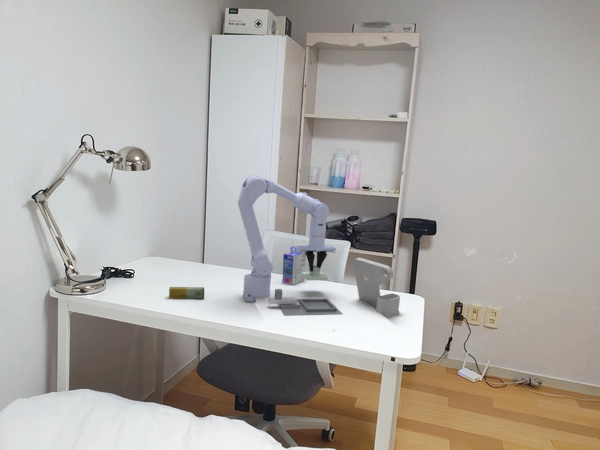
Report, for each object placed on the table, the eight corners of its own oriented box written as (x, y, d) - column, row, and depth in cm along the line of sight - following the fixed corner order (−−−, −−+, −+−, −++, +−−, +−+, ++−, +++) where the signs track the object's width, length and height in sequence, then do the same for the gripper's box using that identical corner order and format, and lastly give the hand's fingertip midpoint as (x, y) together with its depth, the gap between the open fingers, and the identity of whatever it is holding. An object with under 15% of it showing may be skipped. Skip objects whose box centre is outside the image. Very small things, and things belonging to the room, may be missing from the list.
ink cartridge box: (294, 277, 198) (296, 244, 196) (305, 280, 195) (307, 247, 193) (281, 282, 190) (283, 247, 187) (292, 285, 187) (294, 250, 184)
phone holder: (401, 314, 162) (407, 264, 160) (383, 319, 156) (389, 267, 153) (364, 299, 175) (368, 253, 172) (345, 304, 168) (350, 256, 165)
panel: (284, 320, 148) (284, 312, 147) (273, 303, 163) (274, 296, 162) (342, 318, 153) (343, 310, 153) (327, 302, 168) (328, 295, 168)
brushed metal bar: (269, 304, 153) (270, 291, 152) (268, 301, 155) (269, 289, 154) (296, 303, 155) (297, 290, 155) (294, 301, 157) (295, 288, 157)
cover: (306, 280, 167) (307, 269, 166) (300, 275, 174) (301, 264, 174) (327, 280, 169) (328, 269, 168) (320, 275, 177) (321, 264, 176)
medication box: (204, 297, 164) (204, 286, 164) (204, 300, 162) (204, 289, 161) (169, 297, 162) (169, 286, 162) (168, 299, 159) (168, 288, 159)
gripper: (301, 236, 163) (298, 273, 166) (339, 237, 167) (336, 274, 169) (296, 232, 170) (293, 268, 172) (333, 233, 174) (330, 268, 176)
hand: (314, 271), depth 171 cm, fingers closed on cover, 2 cm apart
